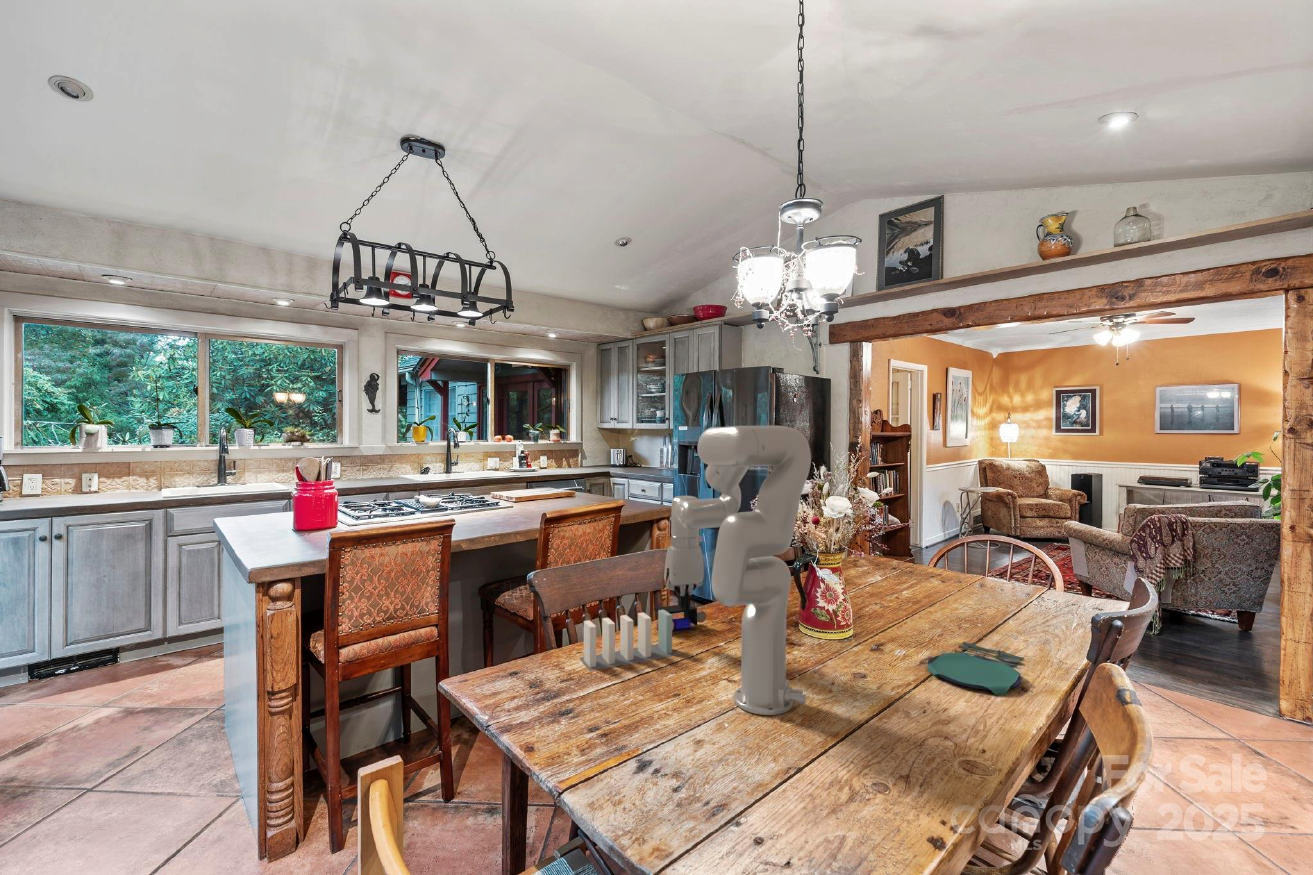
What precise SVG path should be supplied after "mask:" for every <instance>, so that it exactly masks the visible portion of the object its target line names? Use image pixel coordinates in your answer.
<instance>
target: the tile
mask: <svg viewBox="0 0 1313 875" xmlns="http://www.w3.org/2000/svg"><path fill="white" fill-rule="evenodd" d="M657 615H658V617H657V619H658V620H657V622H658V629H657V634H658V635H657V636H658V638H657V640H658V642H657V644H658V647H659V648H660V649H661V650H662V651H664V652H665V653H666V654H668V653H672V651H673V630H672V619H673V614H670V613H668V612H667V611H665V610H658V612H657Z"/></svg>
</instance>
